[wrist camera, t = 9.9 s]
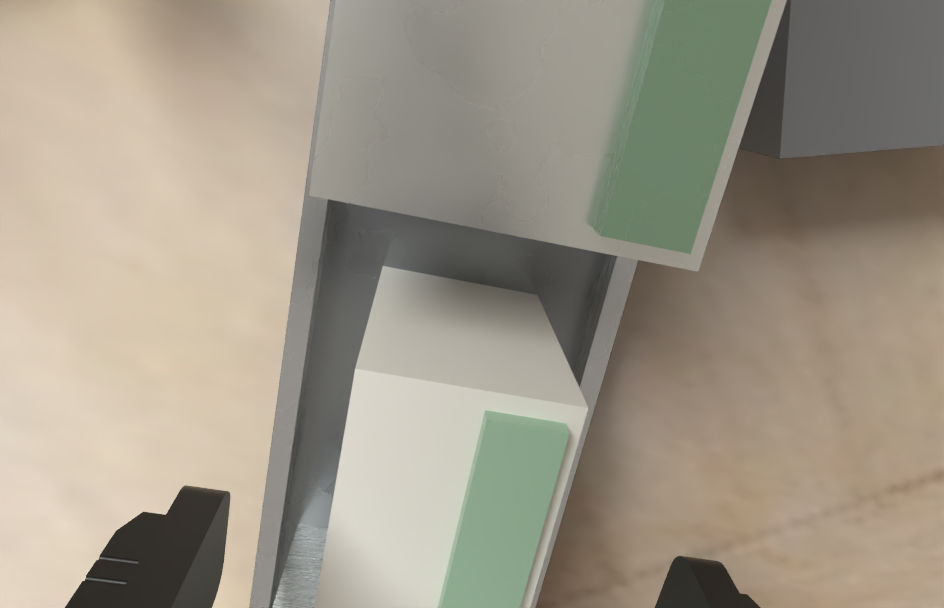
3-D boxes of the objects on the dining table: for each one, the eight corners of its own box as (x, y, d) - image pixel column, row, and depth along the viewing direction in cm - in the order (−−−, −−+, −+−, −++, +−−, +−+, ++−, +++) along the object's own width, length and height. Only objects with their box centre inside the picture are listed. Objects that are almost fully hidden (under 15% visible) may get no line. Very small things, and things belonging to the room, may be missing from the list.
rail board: (358, -97, 18) (285, -256, 9) (687, -17, 19) (903, -89, 10) (257, 630, 25) (163, 924, 16) (496, 660, 26) (526, 951, 17)
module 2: (716, -89, 18) (800, -136, 14) (972, -108, 18) (1132, -161, 14) (708, 140, 20) (779, 159, 16) (939, 121, 20) (1071, 134, 16)
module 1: (382, 265, 19) (352, 377, 12) (537, 294, 20) (593, 418, 13) (350, 449, 21) (308, 638, 14) (492, 471, 22) (519, 664, 15)
